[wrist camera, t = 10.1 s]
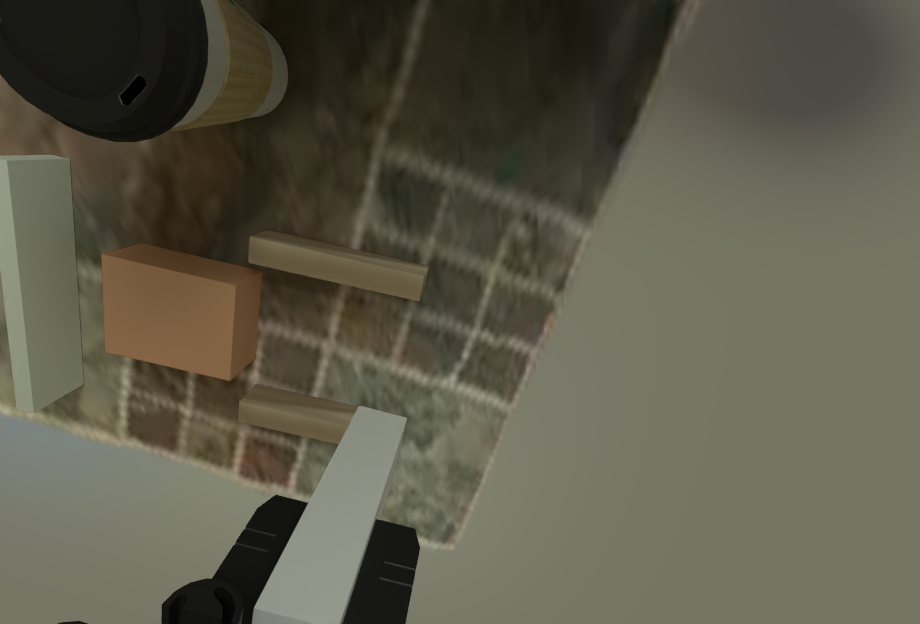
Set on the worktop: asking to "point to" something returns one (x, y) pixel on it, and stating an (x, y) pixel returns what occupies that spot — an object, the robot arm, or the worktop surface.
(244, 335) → the block
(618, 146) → the worktop surface
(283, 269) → the chute
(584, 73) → the worktop surface
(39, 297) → the board
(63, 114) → the coffee cup
